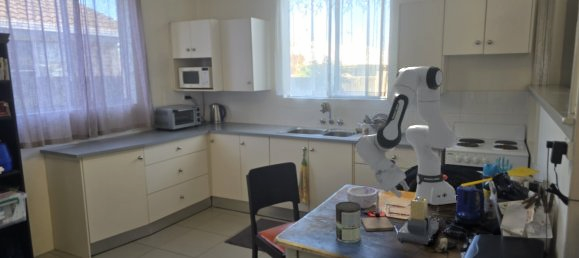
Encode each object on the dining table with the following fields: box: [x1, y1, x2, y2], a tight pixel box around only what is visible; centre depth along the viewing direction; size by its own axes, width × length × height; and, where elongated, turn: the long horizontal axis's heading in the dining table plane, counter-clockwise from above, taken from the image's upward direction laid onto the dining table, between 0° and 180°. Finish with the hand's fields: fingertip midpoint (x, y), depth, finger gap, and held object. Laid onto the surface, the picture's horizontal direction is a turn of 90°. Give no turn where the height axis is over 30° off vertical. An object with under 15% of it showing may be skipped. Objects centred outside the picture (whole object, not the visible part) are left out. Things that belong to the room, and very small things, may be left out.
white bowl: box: [346, 186, 378, 209], centre depth 209 cm, size 15×15×8 cm
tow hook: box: [367, 190, 387, 218], centre depth 195 cm, size 8×13×9 cm
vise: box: [397, 196, 440, 246], centre depth 172 cm, size 18×12×16 cm, turn 147°
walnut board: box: [360, 216, 395, 232], centre depth 184 cm, size 12×12×1 cm
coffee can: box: [335, 201, 362, 244], centre depth 170 cm, size 10×10×14 cm
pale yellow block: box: [409, 196, 428, 221], centre depth 172 cm, size 5×5×8 cm
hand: (404, 193), depth 174 cm, fingers open, 8 cm apart
